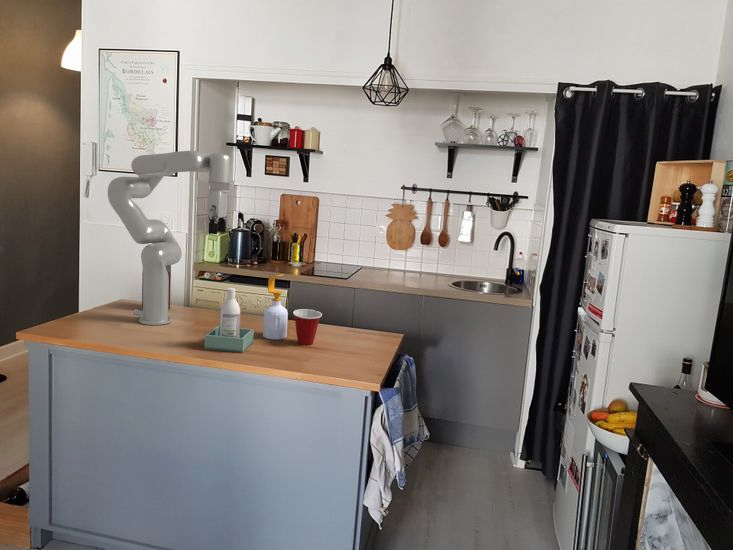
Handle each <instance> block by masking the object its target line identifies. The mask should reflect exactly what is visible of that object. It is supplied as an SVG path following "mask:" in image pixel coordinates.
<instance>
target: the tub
mask: <svg viewBox="0 0 733 550" xmlns="http://www.w3.org/2000/svg"><path fill="white" fill-rule="evenodd" d="M219 333H220V325H217V326H216V327H214V328H213V329H212V330H210V331H209V332H207V333H206V334H205V335H204V348H203V349H204V350H207V351H218V352H219V351H220V352H228V353H239V354H240V353H241V354H244V352H246V350H247V349H248V348H250V346H251V345H252V344H253V343H254V336H255V335H254V334H255V329H252V328H246V327H245V328H244V327H240V334H239V338H235V337H224V336H219Z"/></svg>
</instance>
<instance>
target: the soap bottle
mask: <svg viewBox="0 0 733 550" xmlns="http://www.w3.org/2000/svg"><path fill="white" fill-rule="evenodd" d="M284 274H285V273H284ZM284 274H283V273H282V274H279V275H274V276H271V277H270V276H269V278H268V282H267V290H268V293H271V294H273V296H274V298H272V299H271V301H272V302H271V305H268V306H267V307H266V308H265V309H264V311H263V328H262V329H263V331H262V337H263V338H264V339H267V340H272V341H273V340H274V341H279V340H283V339H286V338H287V335H288V321H289V320H288V319H289V318H288V316H289V313H288V309H287V308H286V307H284V305H282V299H281V298H280V296H281V295H282V294H285V291H282V290H276V289H275V281H276V279H275V278H277V277H281V276H284Z"/></svg>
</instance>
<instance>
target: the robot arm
mask: <svg viewBox="0 0 733 550" xmlns="http://www.w3.org/2000/svg"><path fill="white" fill-rule="evenodd" d="M130 166H131V170H132V172H133V173H134V174H135V175H137V176H136V177H135V176H118V177H116V178H115V177H114V178H113V179H112V180H111V181H110V182H109V184H108V186H107V198H108V201H109V204H110V206H111V208H112V209H113V210H114V212H115V213H116V215H117V216H118V217H119V218H120V220H121V222H122V224H123V226H125V229H126V230H127V232H128V233H129V235H130V236H131V238H132V240H133V241H134V242H135V243H136V244H140V245H146V246H144V247H143V249H142V250H141V253H140V259H141V264H142V265H141V266H142V271H143V310H142V309H134V310H133V316H139V318H138V323H140V324H142V325H147V326H148V325H149V326H160V325H161V326H162V325H167V324H171V323H172V322H173V318H172V317H171V316H169V310H168V294H169V276H168V272H167V270H166V266H167V265H171V266H172V265H175V264H177V263H179V262H180V260H181V259H182V249H181V246H180V244H179V243H178V241H177V240H176V238H175V237H174V234H173V233H172V232H171V230H170V228H169V227H168V226H167V224H165V222H163V221H162V220H159V219H155V218H154V219H153V218H152V219H149V218H148V217H147V216H146V215H145V214H144V212H143V210H142V208H140V206H139V205H138V204H136V202H134V201H133V200H132V199H144V198H147V197H149V196H150V195H151V194H152V192H154V190H155V189H156V187H157V186H158V185H159V184H160V182H161V181H162V180H163V178H164V177H171V176H173V175H175V173H185V172H187V173H190V172H193V173H194V172H196V173H208V189H207V190H208V196H207V207H206V216H207V218H208V234H209V235H217V234H218V233H226V231H227V215H228V193H230V176H231V175H230V173H231V157H230V155H228V154H225V153H217V152H216V153H215V152H214V153H211V152H207V151H206V152H205V151H199V150H181V151H179V150H178V151H172V152H165V153H153V154H142V155H138V156H136V157H134V159H132V161H131V164H130Z"/></svg>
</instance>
